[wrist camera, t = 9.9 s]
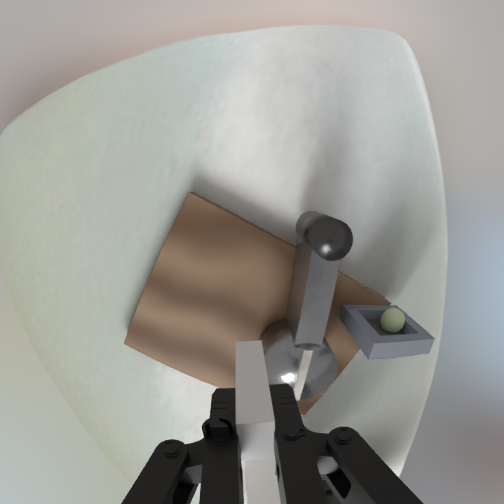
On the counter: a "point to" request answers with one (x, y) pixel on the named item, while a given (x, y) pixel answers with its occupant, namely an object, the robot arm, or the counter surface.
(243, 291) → the stand board
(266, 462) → the milk
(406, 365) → the counter surface
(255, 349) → the robot arm
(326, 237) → the crank handle
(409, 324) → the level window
